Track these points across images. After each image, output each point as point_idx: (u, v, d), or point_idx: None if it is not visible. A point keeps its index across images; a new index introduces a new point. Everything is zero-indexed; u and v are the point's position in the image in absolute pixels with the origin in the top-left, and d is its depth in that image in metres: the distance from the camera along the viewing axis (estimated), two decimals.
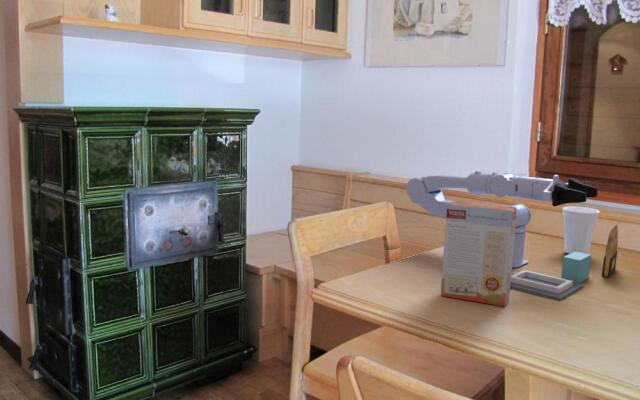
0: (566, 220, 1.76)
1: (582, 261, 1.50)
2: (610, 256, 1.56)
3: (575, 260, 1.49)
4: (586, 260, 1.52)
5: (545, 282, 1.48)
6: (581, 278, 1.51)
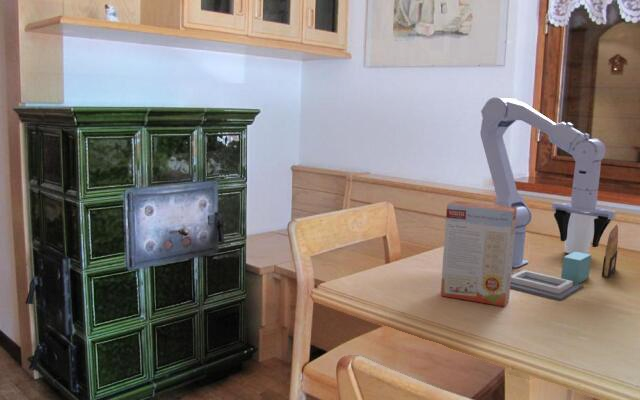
0: None
1: (582, 261, 1.50)
2: (610, 256, 1.56)
3: (575, 260, 1.49)
4: (586, 260, 1.52)
5: (545, 282, 1.48)
6: (581, 278, 1.51)
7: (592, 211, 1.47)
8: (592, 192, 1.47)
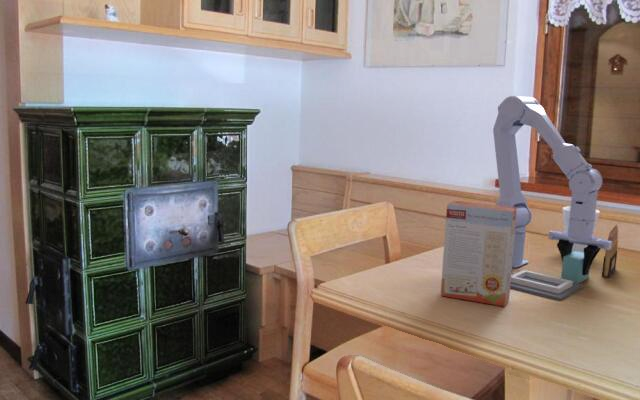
0: (566, 220, 1.76)
1: (582, 261, 1.50)
2: (610, 256, 1.56)
3: (575, 260, 1.49)
4: None
5: (545, 282, 1.48)
6: (581, 277, 1.51)
7: (588, 241, 1.49)
8: (588, 222, 1.49)
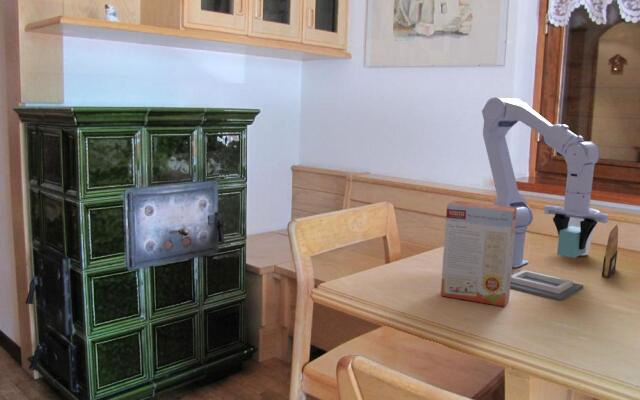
0: None
1: (579, 234, 1.48)
2: (610, 256, 1.56)
3: (572, 233, 1.47)
4: None
5: (545, 282, 1.48)
6: (577, 252, 1.49)
7: (585, 214, 1.46)
8: (585, 195, 1.46)
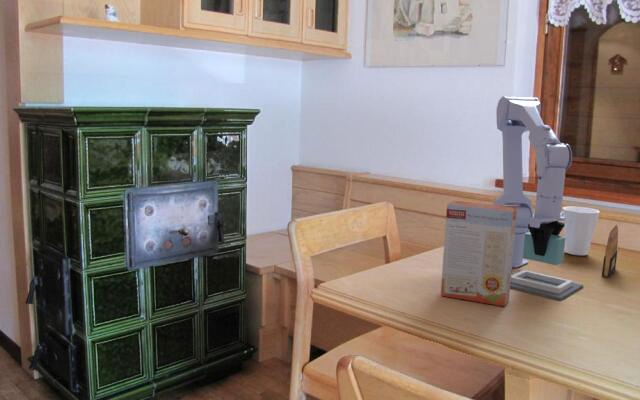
0: (566, 220, 1.76)
1: None
2: (610, 256, 1.56)
3: (563, 238, 1.43)
4: None
5: (545, 282, 1.48)
6: None
7: None
8: None
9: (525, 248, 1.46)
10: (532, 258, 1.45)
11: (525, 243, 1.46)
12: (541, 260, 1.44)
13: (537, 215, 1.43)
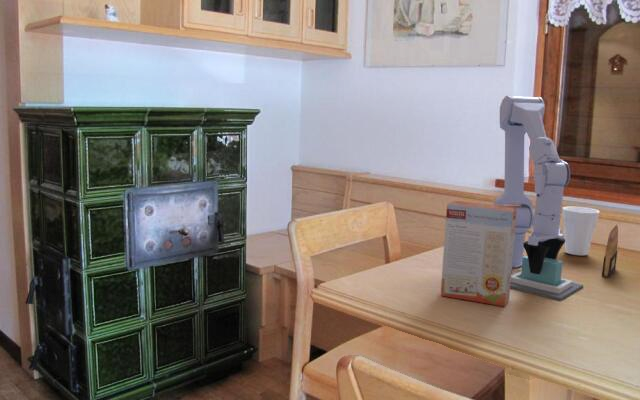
0: (566, 220, 1.76)
1: None
2: (610, 256, 1.56)
3: (560, 263, 1.44)
4: None
5: None
6: None
7: (559, 233, 1.45)
8: None
9: (523, 271, 1.47)
10: None
11: (523, 267, 1.47)
12: None
13: (535, 232, 1.43)
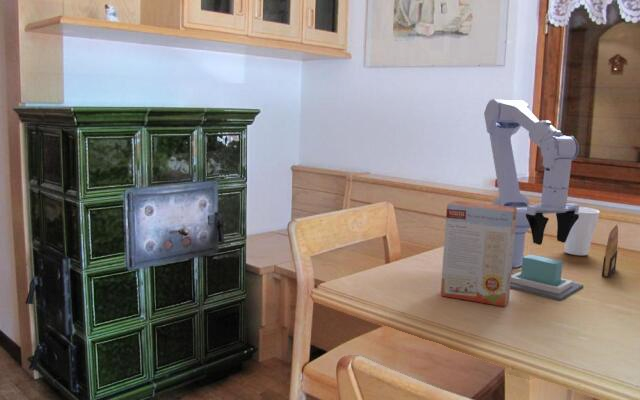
0: None
1: None
2: (610, 256, 1.56)
3: (560, 263, 1.44)
4: None
5: None
6: None
7: (569, 208, 1.47)
8: (567, 189, 1.47)
9: (523, 271, 1.47)
10: None
11: (523, 267, 1.47)
12: None
13: (541, 204, 1.48)
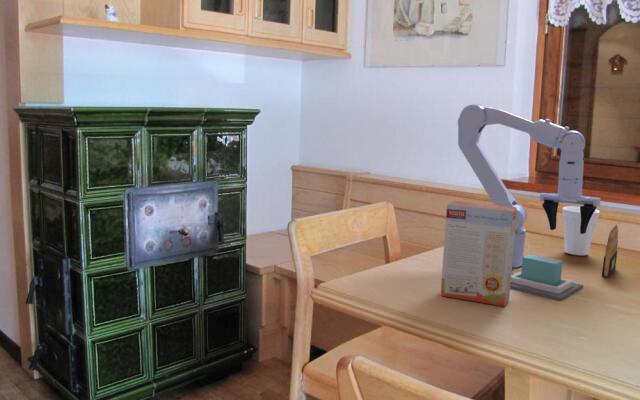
0: (566, 220, 1.76)
1: None
2: (610, 256, 1.56)
3: (560, 263, 1.44)
4: None
5: None
6: None
7: (578, 199, 1.54)
8: (577, 181, 1.55)
9: (523, 271, 1.47)
10: None
11: (523, 267, 1.47)
12: None
13: None
